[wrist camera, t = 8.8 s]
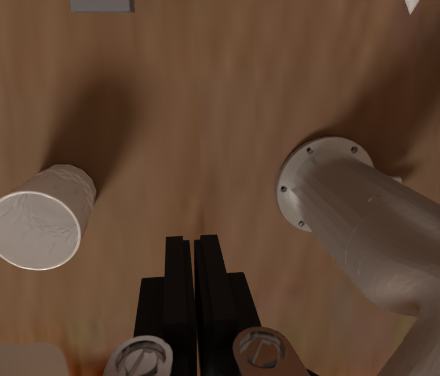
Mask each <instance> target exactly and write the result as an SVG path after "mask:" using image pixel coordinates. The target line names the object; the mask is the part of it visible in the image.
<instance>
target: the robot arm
mask: <svg viewBox="0 0 440 376" xmlns="http://www.w3.org/2000/svg"><path fill="white" fill-rule="evenodd" d="M307 148H309V150H308V151H307ZM351 148H352V149H351ZM282 186H284V187H283V188H281V187H282ZM275 191H276V200H277V203H278V206H279V208H280V210H281V212H282V214H283V215H284V216H285V218H286V219H287V220H288V221H289V222H290V223H291V224H292V225H294V226H295V227H297V228H299V229H301V230H304V231H307V232H313V233H314V234H315V236H316V237H317V238H318V239H319V241H320V242H321V243H322V244H323V246H324V247H325V248H326V249H327V251H328V252H329V253H330V254H331V256H332V257H333V258H334V259H335V261H336V262H337V263H338V264H339V266H340V267H341V268H342V269H343V271H344V272H345V273H346V274H347V276H348V277H349V278H350V279H351V281H352V282H353V283H354V284H355V285H356V287H357V288H358V289H359V290H360V291H361V292H362V294H363V295H364V296H365V297H367V298H368V299H369V300H370V301H372V302H373V303H374V304H376V305H378V306H380V307H382V308H384V309H386V310H388V311H391V312H394V313H398V314H402V315H407V316H413V317H417V320H416V322H415V323H414V325H413V326H412V327H411V329H410V330H409V332H408V333H407V335H406V336H405V337H404V339H403V342H402V343H401V345H400V346H399V347H398V348H397V350H396V351H395V352H394V354H393V355H392V356H391V358H390V359H389V360H388V362H387V363H386V364H385V366H384V367H383V368H382V369H381V371H380V372H379V373H378V375H377V376H440V204H438V203H436V202H434V201H432V200H430V199H429V198H427V197H425V196H423V195H421V194H420V193H418V192H416V191H414V190H412V189H411V188H409V187H407V186H405V185H403V184H402V180H401V177H400V176H387V175H385V174H384V173H382V172H380V171H378V170H376V169H374V165H373V162H372V160H371V158H370V156H369V155H368V153H367V152H366V151H365V150H364V149H363V148H362V147H361V146H360V145H358V144H357V143H355V142H353V141H351V140H349V139H346V138H343V137H338V136H324V137H319V138H315V139H313V140H310V141H308V142H306V143H304V144H303V145H301V146H300V147H298V148H297V149H296V150H295V151H294V152H292V153H291V154H290V156H289V157H288V158H287V159H286V161H285V162H284V164H283V165H282V167H281V169H280V171H279V174H278V177H277V181H276V188H275ZM194 278H195V299H194V288H193V276H192V265H191V254H190V243H189V240H183V236H173V237H166V252H165V277H151V278H142V280H141V287H140V294H139V301H138V308H137V315H136V322H135V330H134V337H133V338H132V339H129V340H127V341H125V342H124V343H122V344H121V345H120V346H118V347H117V348H116V349H115V350H114V352H113V353H112V355H111V357H110V359H109V361H108V364H107V366H106V369H105V371H104V374H103V376H197V344H198V356H199V367H200V376H319V375H317V374H315V373H313V372H312V371H310V370H308V369H306V368H305V366H304V365H303V363H302V361H301V360H300V358H299V356H298V355H297V353H296V351H295V350H294V348H293V347H292V345H291V343H290V342H289V341H288V339H287V338H286V337H285V336H284V335H282V334H281V333H279V332H278V331H276V330H273V329H271V328H267V327H262V326H261V323H260V320H259V317H258V314H257V311H256V308H255V305H254V302H253V299H252V296H251V293H250V290H249V287H248V284H247V281H246V278H245V275H244V273H243V272H236V273H226V269H225V264H224V260H223V256H222V252H221V248H220V244H219V240H218V236H217V235H201V236H200V240H194Z"/></svg>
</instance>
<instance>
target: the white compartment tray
mask: <svg viewBox="0 0 440 376" xmlns="http://www.w3.org/2000/svg"><path fill="white" fill-rule="evenodd" d="M405 2H406V5H407V7H408V10H409V13H410V14H411V13H412V11H413V10H414V8H415V6H416V5H417V3H418V2H419V0H405Z"/></svg>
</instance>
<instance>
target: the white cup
mask: <svg viewBox="0 0 440 376" xmlns="http://www.w3.org/2000/svg"><path fill="white" fill-rule="evenodd" d="M96 192H97V191H96V188H95V186H94V183H93V180H92V179H91V178H90V177H89V176H88V175H87V174H86V173H85V172H84V171H83V170H82V169H80V168H77V167H75V166H72V165H70V164H55V165H53V166H51V167H48V168H46V169H44V170H42V171H41V172H39V173H37V174H35V175H34V176H32V177H31V178H29V179H28V180H26V181H24V182H23V183H21V184H20V185H19V186H17V187H16V188H14V189H13V190H12V191H10V192H9V193H7V194H6V195H4V196H3V197H2V198H0V256H1V257H2V258H3V259H5V260H6V261H8V262H9V263H11V264H13V265H15V266H18V267H21V268H25V269H30V270H47V269H52V268H55V267H58V266H60V265H62V264H64V263H65V262H67V261H68V260H69V259H71V258H72V256H73V255H74V254H75V253H76V251H77V249H78V247H79V245H80V242H81V240H82V237H83V235H84V232H85V230H86V227H87V225H88V222H89V219H90V216H91V213H92V210H93V206H94V204H95V199H96Z"/></svg>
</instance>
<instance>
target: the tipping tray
mask: <svg viewBox="0 0 440 376" xmlns="http://www.w3.org/2000/svg"><path fill="white" fill-rule="evenodd" d="M70 5H71V11H72V12H76V13H135V8H134V0H70Z"/></svg>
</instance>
